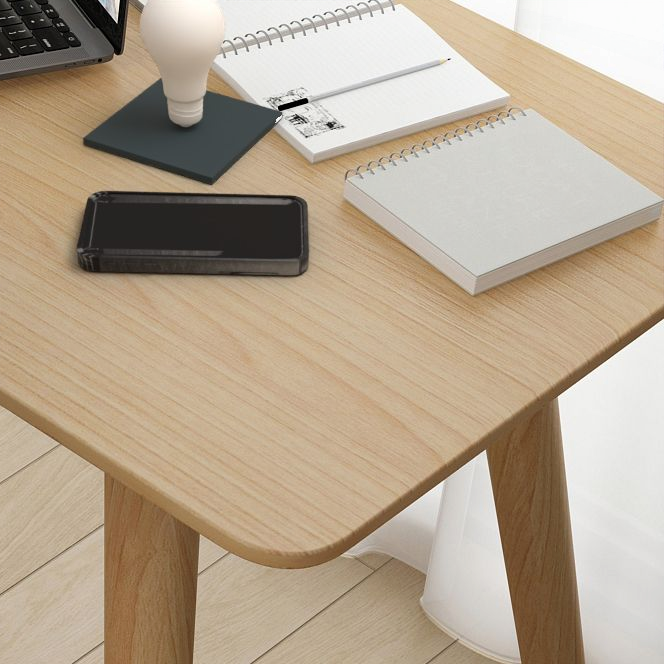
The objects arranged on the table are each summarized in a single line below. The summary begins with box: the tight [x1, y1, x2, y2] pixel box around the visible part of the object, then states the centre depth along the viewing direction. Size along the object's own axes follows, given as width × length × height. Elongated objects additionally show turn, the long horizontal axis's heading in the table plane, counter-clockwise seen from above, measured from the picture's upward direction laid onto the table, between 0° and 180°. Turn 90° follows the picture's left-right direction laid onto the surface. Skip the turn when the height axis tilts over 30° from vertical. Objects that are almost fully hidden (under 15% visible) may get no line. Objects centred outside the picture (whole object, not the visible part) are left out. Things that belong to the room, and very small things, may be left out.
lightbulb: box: [139, 0, 227, 127], centre depth 88 cm, size 6×6×11 cm
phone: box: [76, 190, 310, 276], centre depth 80 cm, size 8×1×15 cm
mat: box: [82, 77, 283, 185], centre depth 91 cm, size 11×11×1 cm
